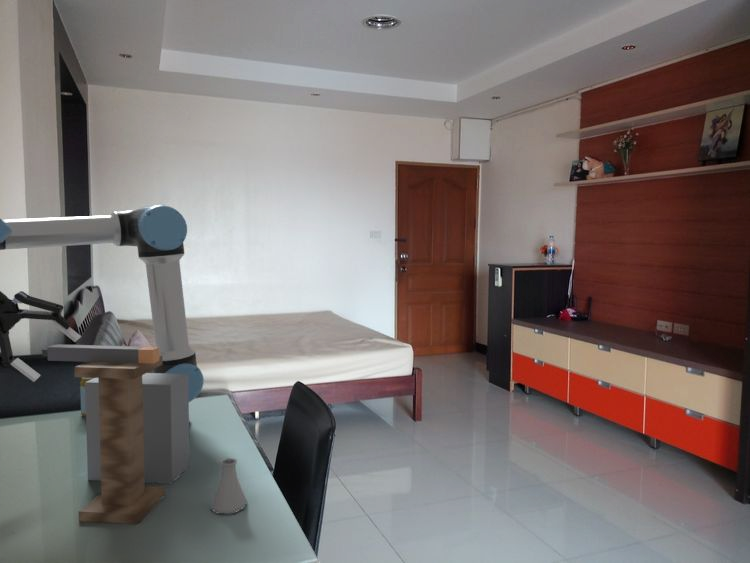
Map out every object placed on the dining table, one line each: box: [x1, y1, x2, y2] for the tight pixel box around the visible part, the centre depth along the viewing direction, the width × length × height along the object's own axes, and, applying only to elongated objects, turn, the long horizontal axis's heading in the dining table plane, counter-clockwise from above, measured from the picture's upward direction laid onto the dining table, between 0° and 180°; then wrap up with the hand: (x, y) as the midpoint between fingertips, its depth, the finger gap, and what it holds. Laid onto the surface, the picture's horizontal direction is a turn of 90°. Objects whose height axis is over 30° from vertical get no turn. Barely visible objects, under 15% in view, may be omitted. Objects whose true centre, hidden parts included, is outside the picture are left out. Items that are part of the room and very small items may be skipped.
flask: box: [210, 457, 248, 514], centre depth 116 cm, size 7×7×10 cm
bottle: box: [79, 377, 94, 418], centre depth 175 cm, size 7×7×15 cm
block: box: [85, 373, 190, 484], centre depth 132 cm, size 20×10×23 cm, turn 86°
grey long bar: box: [41, 343, 159, 364], centre depth 113 cm, size 24×3×3 cm, turn 86°
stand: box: [73, 356, 166, 525], centre depth 114 cm, size 12×12×31 cm
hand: (58, 359), depth 131 cm, fingers open, 13 cm apart
